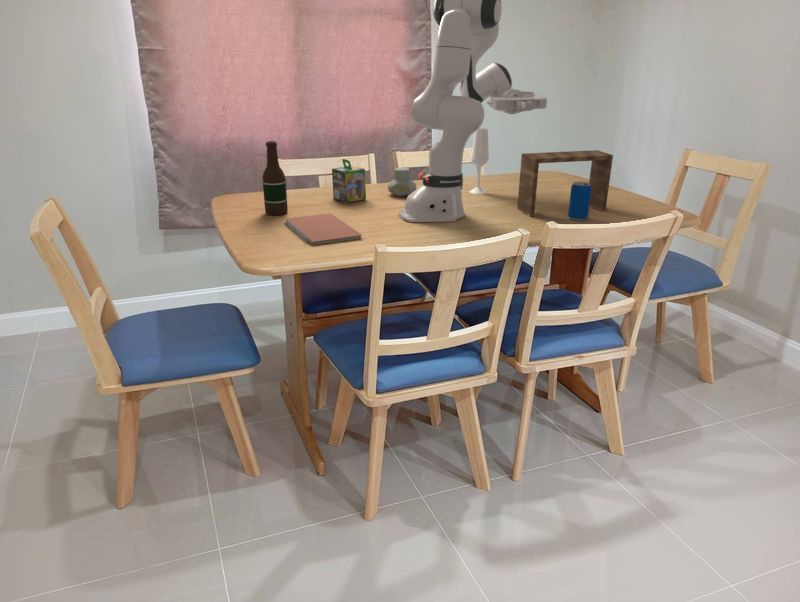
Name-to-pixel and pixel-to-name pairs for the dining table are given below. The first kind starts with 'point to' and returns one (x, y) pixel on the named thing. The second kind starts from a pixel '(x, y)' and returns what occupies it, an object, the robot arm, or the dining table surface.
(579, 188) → the beverage can
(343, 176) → the chalk box
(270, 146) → the beer bottle
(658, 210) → the dining table surface
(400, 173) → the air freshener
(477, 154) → the champagne flute
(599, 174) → the walnut riser shelf
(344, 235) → the notebook
